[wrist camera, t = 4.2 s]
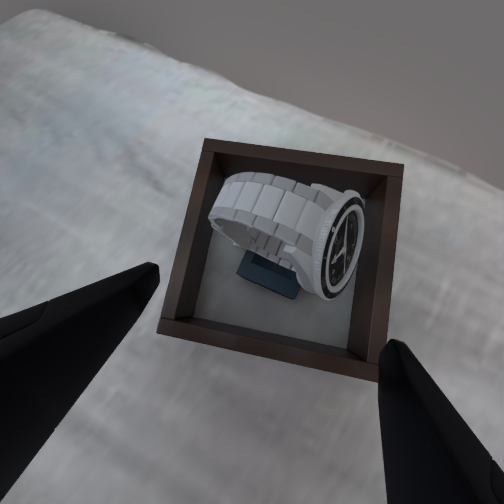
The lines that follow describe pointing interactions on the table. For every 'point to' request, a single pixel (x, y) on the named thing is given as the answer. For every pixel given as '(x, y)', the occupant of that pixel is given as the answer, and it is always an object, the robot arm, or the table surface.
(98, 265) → the table surface
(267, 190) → the watch
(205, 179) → the tray
